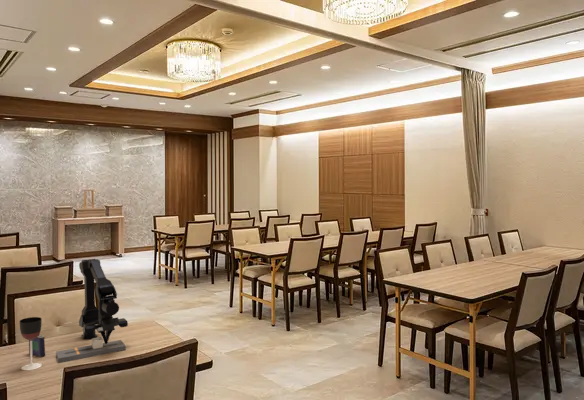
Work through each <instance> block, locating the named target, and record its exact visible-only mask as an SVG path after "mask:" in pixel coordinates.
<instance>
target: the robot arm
mask: <svg viewBox="0 0 584 400" xmlns="http://www.w3.org/2000/svg"><path fill="white" fill-rule="evenodd" d="M78 265H79V266H78V267H79V270H80V273H81V274H82V276H83V279H84V280H83V283H84V307H83V308H82V309H81V315H80V317H79V319H78V325H79V326H80V327H81V328H82V331H83V332H82V334H81V338H82V339H83V340H88V339H89V340H90V339H92V338H98V335H97V334H96V333H98V334H100V335H101V338H102V339H103V343H105V344H107V343H108V342H109V339H110V336H111V334H112V332H113V331H115V330H116V329H115V327H116V326H119V327H120V328H126V327H129V324H128V320H127V319H126V318H124V317H123V318H119V317H114V316H115V315H116V314H118V312H119V310H120V306H119V304H118V303H117V302H115V300H116V299H117V297H118V296H117V295H118V293H117V291H116V288H115V286H114V285H113V283H112V281H111V280H110V279H108V278H107V277H106V274H105V272H104V269H103V268H102V265H101V260H100V259H98V258H97V259H96V258H89V259H82V260H81V261H80V262H79V264H78ZM95 284H96V285H95ZM95 295H96V296H95ZM96 298H97V301H98V307H97V306H96ZM96 331H97V332H96Z"/></svg>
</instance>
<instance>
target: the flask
mask: <svg viewBox="0 0 584 400" xmlns="http://www.w3.org/2000/svg"><path fill="white" fill-rule="evenodd" d="M28 355H29V356H30V340H28ZM32 356H34V357H38V358H44V357H46V344H45V336H44V335H42V334H41V333H40V334H39V336H38V337H36V338H35V339H33V340H32Z"/></svg>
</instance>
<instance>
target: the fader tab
mask: <svg viewBox="0 0 584 400" xmlns="http://www.w3.org/2000/svg"><path fill="white" fill-rule="evenodd" d="M103 343H104V340H103V337H102V336H99V337H98V336H97V337H95V338H91V345H92V348H93V349H97V348H102V347H103Z"/></svg>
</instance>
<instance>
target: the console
mask: <svg viewBox="0 0 584 400" xmlns="http://www.w3.org/2000/svg"><path fill="white" fill-rule="evenodd" d="M126 349H127V346H126V344H125V343H124V342H123V340H122V339H118V340H113V341H108V343H107V344H105V342H103V347H102V348H97V349H93V348H92V344H89V345H84V346H81V347H80V346H79V347H73V348H68V349H62V350H58V351H56V352H55V356H56V359H57V362H58V363H59V364H60V363H66V362H70V361H76V360H81V359H87V358H91V357H97V356H103V355H106V354H107V355H108V354H112V353H116V352H122V351H126Z"/></svg>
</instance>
